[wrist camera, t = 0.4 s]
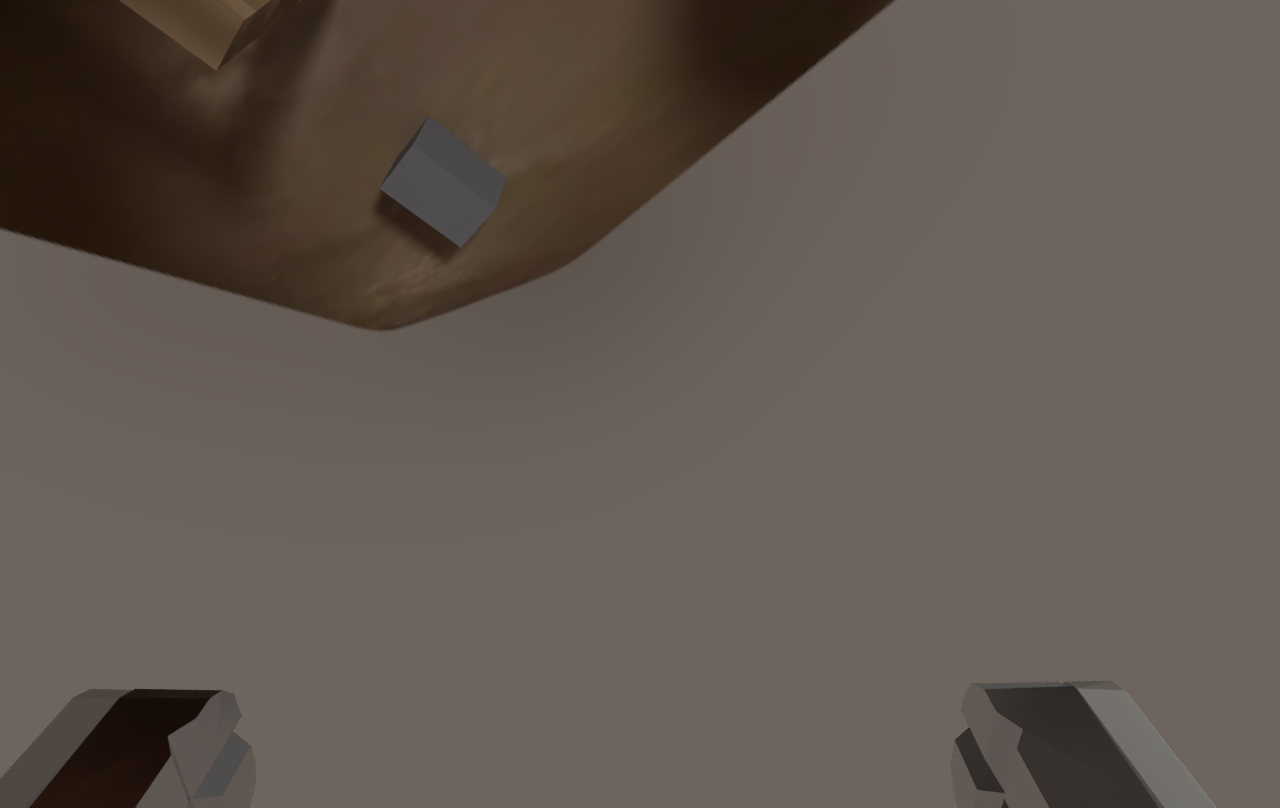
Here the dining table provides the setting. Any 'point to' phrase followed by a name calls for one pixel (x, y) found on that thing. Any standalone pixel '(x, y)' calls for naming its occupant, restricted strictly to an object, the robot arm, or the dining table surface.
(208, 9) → the door frame
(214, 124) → the dining table surface
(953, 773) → the robot arm
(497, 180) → the dark grey block
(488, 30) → the dining table surface
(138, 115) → the dining table surface
